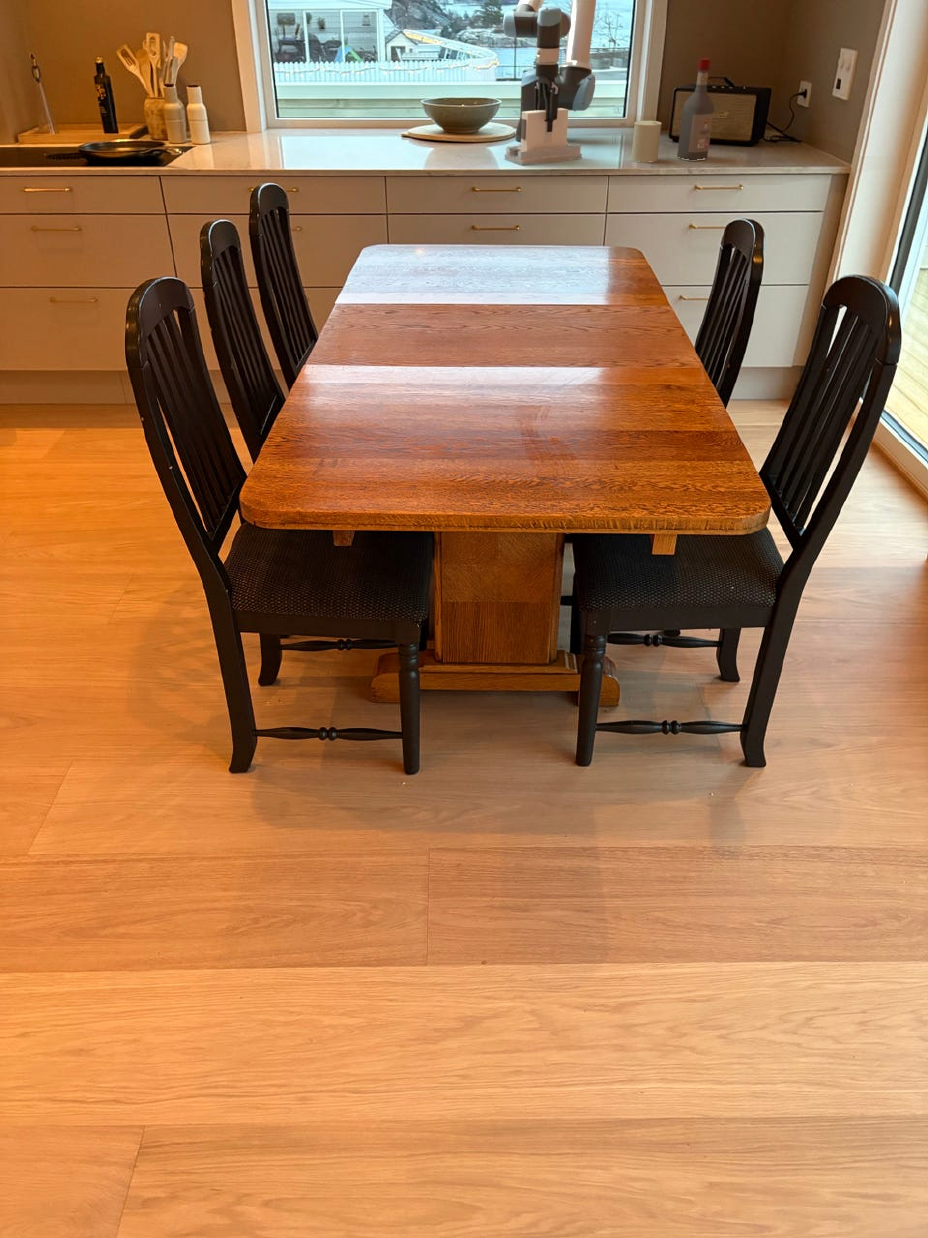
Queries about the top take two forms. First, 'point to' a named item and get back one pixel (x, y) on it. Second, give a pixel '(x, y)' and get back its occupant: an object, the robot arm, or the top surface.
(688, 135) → the liquor
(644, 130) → the can
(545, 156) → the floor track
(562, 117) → the door panel
